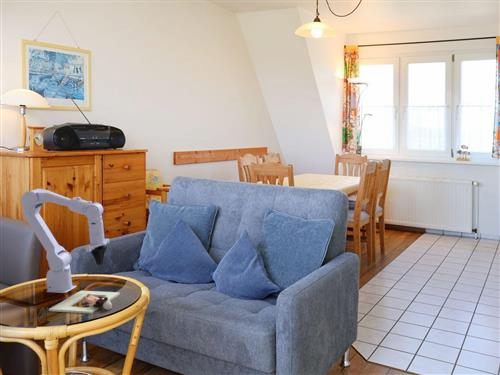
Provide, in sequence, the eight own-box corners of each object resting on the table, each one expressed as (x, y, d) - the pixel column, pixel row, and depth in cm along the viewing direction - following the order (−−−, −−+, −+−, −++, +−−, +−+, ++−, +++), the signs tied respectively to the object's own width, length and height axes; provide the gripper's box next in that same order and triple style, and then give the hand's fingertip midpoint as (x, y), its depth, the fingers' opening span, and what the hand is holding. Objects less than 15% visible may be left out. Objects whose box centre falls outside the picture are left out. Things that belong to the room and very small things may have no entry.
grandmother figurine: (81, 307, 186) (104, 317, 179) (78, 299, 184) (101, 309, 177) (96, 295, 191) (119, 304, 185) (94, 287, 189) (117, 296, 183)
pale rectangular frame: (49, 311, 184) (48, 308, 183) (81, 292, 203) (81, 290, 202) (91, 313, 179) (91, 311, 178) (119, 294, 198) (119, 292, 198)
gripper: (95, 236, 195) (98, 269, 197) (114, 228, 209) (117, 259, 211) (79, 236, 197) (83, 269, 199) (99, 228, 211) (102, 259, 213)
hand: (99, 264), depth 205 cm, fingers closed
